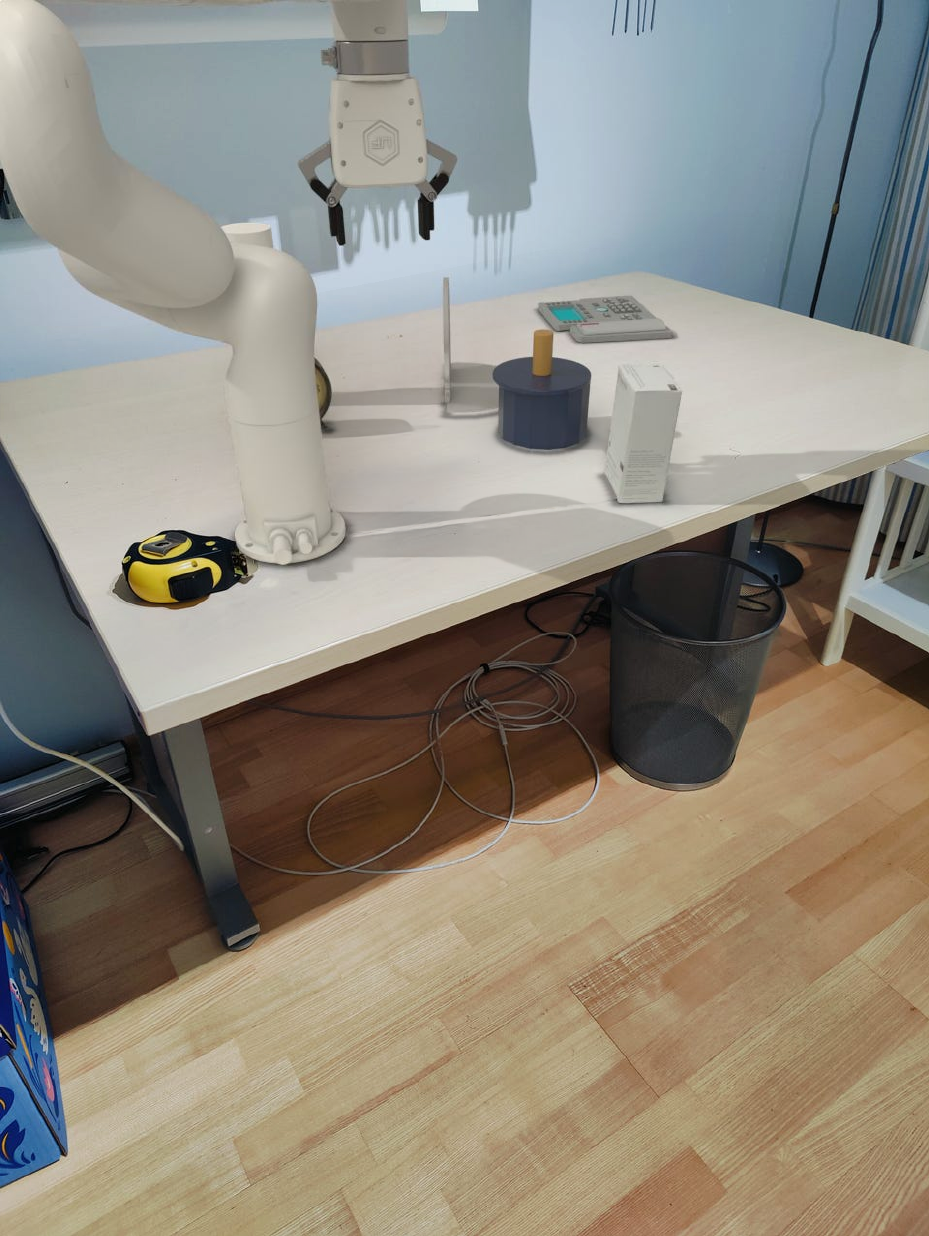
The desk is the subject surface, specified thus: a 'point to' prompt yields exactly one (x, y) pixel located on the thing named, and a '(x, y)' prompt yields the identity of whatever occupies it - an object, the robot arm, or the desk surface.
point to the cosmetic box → (642, 432)
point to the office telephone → (604, 319)
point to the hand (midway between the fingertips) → (383, 240)
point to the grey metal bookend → (465, 375)
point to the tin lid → (542, 371)
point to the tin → (543, 418)
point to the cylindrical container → (249, 233)
